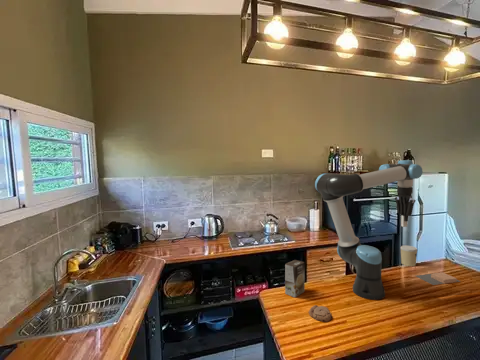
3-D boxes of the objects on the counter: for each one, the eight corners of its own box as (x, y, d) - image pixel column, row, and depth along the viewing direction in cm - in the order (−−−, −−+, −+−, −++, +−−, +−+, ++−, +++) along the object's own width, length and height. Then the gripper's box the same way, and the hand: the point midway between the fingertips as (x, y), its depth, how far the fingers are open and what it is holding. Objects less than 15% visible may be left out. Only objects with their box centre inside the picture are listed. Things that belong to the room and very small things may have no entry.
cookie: (319, 325, 114) (319, 318, 113) (304, 312, 123) (304, 306, 123) (337, 319, 118) (337, 312, 117) (321, 307, 127) (321, 301, 127)
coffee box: (295, 298, 136) (294, 267, 135) (284, 293, 140) (284, 263, 139) (305, 291, 142) (304, 262, 141) (294, 287, 147) (294, 259, 146)
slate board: (433, 287, 144) (433, 284, 144) (414, 277, 156) (414, 275, 156) (460, 283, 147) (460, 281, 147) (440, 274, 159) (440, 272, 159)
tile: (431, 277, 153) (444, 283, 145) (431, 273, 153) (444, 279, 145) (442, 275, 155) (456, 282, 147) (442, 272, 154) (456, 278, 147)
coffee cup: (419, 268, 168) (420, 250, 167) (403, 268, 170) (403, 249, 169) (413, 263, 177) (413, 245, 176) (397, 262, 179) (398, 245, 178)
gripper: (419, 187, 151) (419, 228, 152) (401, 185, 164) (401, 223, 165) (408, 187, 149) (407, 229, 151) (391, 185, 162) (390, 224, 164)
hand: (404, 226), depth 158 cm, fingers closed
